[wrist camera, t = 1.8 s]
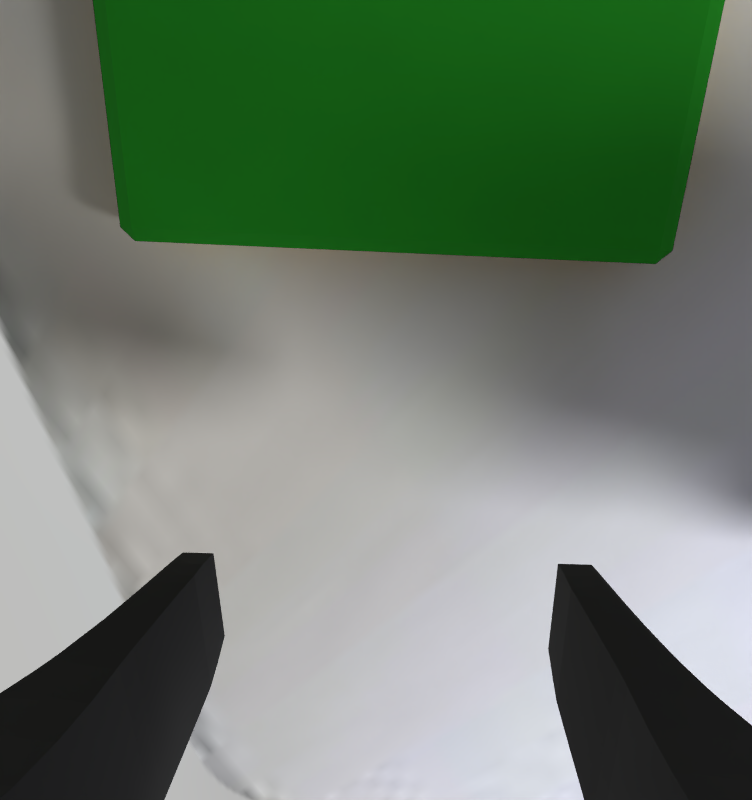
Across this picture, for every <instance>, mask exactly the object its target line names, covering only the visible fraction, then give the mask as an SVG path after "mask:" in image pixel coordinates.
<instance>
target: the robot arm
mask: <svg viewBox="0 0 752 800" xmlns="http://www.w3.org/2000/svg"><path fill="white" fill-rule="evenodd" d="M224 636H225V635H224V628H223V621H222V613H221V606H220V599H219V591H218V584H217V577H216V569H215V562H214V555H213V553H182V554H181V555H179V556H178V557H177V558H176V559H174V560H173V561H172V562H171V563H170V564H169V565H167V566H166V567H165V568H164V569H163V570H162V571H160V572H159V573H158V574H157V575H156V576H155V577H153V578H152V579H151V580H150V581H149V582H148V583H147V584H145V585H144V586H143V587H142V588H141V589H140V590H138V591H137V592H136V593H135V594H134V595H133V596H131V597H130V598H129V599H128V600H127V601H125V602H124V603H123V604H122V605H121V606H119V607H118V608H117V609H116V610H115V611H113V612H112V613H111V614H110V615H109V616H107V617H106V618H105V619H104V620H103V621H101V622H100V623H99V624H97V625H96V626H95V627H94V628H92V629H91V630H89V631H88V632H87V633H86V634H84V635H83V636H82V637H80V638H79V639H78V640H77V641H75V642H74V643H72V644H71V645H70V646H69V647H67V648H66V649H65V650H63V651H62V652H61V653H59V654H58V655H57V656H55V657H54V658H52V659H51V660H50V661H48V662H47V663H45V664H44V665H42V666H41V667H40V668H38V669H37V670H35V671H34V672H32V673H31V674H29V675H28V676H26V677H24V678H23V679H21V680H20V681H18V682H17V683H15V684H14V685H12V686H11V687H9V688H8V689H6V690H4V691H3V692H1V693H0V800H164V799H165V797H166V794H167V792H168V789H169V787H170V784H171V782H172V780H173V777H174V775H175V772H176V770H177V767H178V765H179V763H180V760H181V758H182V756H183V753H184V751H185V748H186V745H187V744H188V741H189V739H190V736H191V734H192V731H193V729H194V727H195V724H196V722H197V719H198V717H199V714H200V712H201V709H202V707H203V705H204V702H205V700H206V697H207V695H208V692H209V690H210V687H211V684H212V681H213V677H214V674H215V670H216V667H217V663H218V659H219V655H220V652H221V648H222V644H223V640H224ZM548 649H549V656H550V662H551V669H552V676H553V682H554V688H555V694H556V700H557V704H558V708H559V711H560V715H561V719H562V722H563V726H564V729H565V733H566V737H567V740H568V744H569V747H570V751H571V754H572V758H573V761H574V765H575V769H576V772H577V776H578V779H579V783H580V786H581V790H582V793H583V797H584V800H752V725H750V724H749V723H748V722H747V721H746V720H744V719H743V718H742V717H741V716H740V715H738V714H737V713H736V712H735V711H734V710H732V709H731V708H730V707H729V706H727V705H726V704H725V703H724V702H723V701H722V700H720V699H719V698H718V697H717V696H716V695H715V694H714V693H712V692H711V691H710V690H709V689H708V688H707V687H706V686H705V685H704V684H702V683H701V682H700V681H699V680H698V679H697V678H696V677H695V676H694V675H693V674H692V673H691V672H690V671H689V670H688V669H687V668H686V667H685V666H683V665H682V664H681V663H680V662H679V661H678V660H677V659H676V658H675V657H674V656H673V655H672V654H671V653H670V652H669V650H668V649H667V648H666V647H665V646H664V645H663V644H662V643H661V642H660V641H659V640H658V639H657V638H656V637H655V636H654V635H653V634H652V633H651V631H650V630H649V629H648V628H647V627H646V626H645V625H644V624H643V623H642V622H641V621H640V620H639V619H638V617H637V616H636V615H635V614H634V613H633V612H632V611H631V610H630V608H629V607H628V606H627V605H626V604H625V603H624V602H623V600H622V599H621V598H620V597H619V596H618V595H617V594H616V592H615V591H614V590H613V589H612V588H611V587H610V585H609V584H608V583H607V582H606V581H605V580H604V578H603V577H602V576H601V575H600V574H599V573H598V571H597V570H596V569H595V568H594V567H593V566H592V565H578V564H558V569H557V578H556V587H555V595H554V604H553V613H552V622H551V630H550V639H549V648H548Z"/></svg>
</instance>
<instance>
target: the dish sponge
mask: <svg viewBox="0 0 752 800" xmlns="http://www.w3.org/2000/svg"><path fill="white" fill-rule="evenodd" d="M724 2H725V0H93V6H94V14H95V23H96V31H97V39H98V47H99V55H100V64H101V72H102V80H103V88H104V96H105V105H106V113H107V121H108V129H109V138H110V146H111V154H112V162H113V170H114V179H115V187H116V195H117V203H118V211H119V220H120V227H121V228H122V229H123V230H124V231H125V232H126V233H127V234H128V235H129V236H130V237H131V238H132V239H133V240H135V241H148V242H171V243H194V244H216V245H239V246H261V247H284V248H307V249H329V250H352V251H374V252H397V253H419V254H442V255H465V256H487V257H510V258H532V259H555V260H578V261H600V262H623V263H645V264H656V263H657V262H659V261H660V260H661V259H662V258H664V257H665V256H666V255H668V254H669V253H670V252H671V251H672V250H673V246H674V241H675V236H676V231H677V226H678V222H679V217H680V212H681V207H682V203H683V198H684V193H685V188H686V183H687V179H688V174H689V169H690V164H691V160H692V155H693V150H694V145H695V140H696V136H697V131H698V126H699V121H700V116H701V112H702V107H703V102H704V97H705V93H706V88H707V83H708V78H709V73H710V69H711V64H712V59H713V54H714V50H715V45H716V40H717V35H718V30H719V26H720V21H721V16H722V11H723V7H724Z"/></svg>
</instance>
